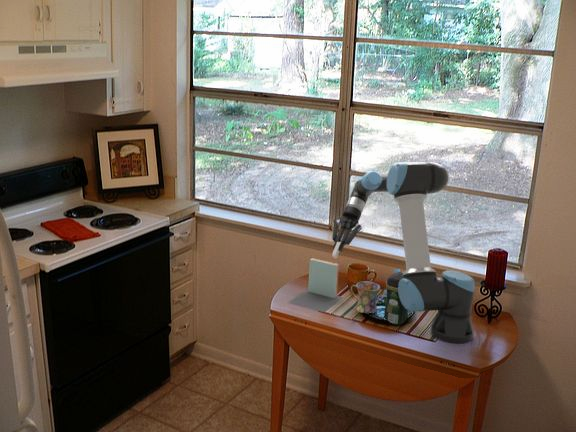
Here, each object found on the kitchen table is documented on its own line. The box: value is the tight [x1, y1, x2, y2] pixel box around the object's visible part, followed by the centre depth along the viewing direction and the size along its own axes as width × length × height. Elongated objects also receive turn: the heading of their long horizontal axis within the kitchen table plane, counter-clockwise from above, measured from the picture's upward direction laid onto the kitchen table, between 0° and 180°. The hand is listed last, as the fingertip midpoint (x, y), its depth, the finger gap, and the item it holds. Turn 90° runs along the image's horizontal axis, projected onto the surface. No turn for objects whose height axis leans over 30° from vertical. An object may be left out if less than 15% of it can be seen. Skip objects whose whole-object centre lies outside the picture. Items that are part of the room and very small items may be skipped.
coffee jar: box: [383, 271, 409, 326], centre depth 245 cm, size 10×8×19 cm
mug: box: [350, 280, 381, 314], centre depth 254 cm, size 12×9×11 cm
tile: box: [307, 257, 340, 298], centre depth 265 cm, size 2×12×14 cm, turn 61°
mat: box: [287, 288, 345, 313], centre depth 261 cm, size 18×16×1 cm
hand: (334, 256), depth 273 cm, fingers closed
